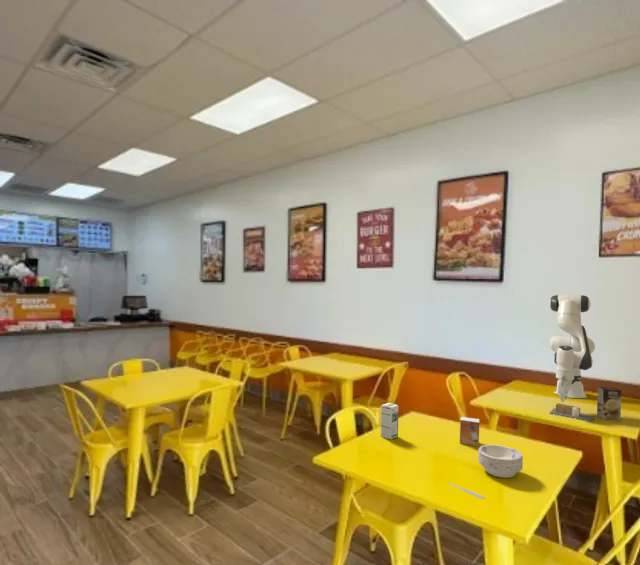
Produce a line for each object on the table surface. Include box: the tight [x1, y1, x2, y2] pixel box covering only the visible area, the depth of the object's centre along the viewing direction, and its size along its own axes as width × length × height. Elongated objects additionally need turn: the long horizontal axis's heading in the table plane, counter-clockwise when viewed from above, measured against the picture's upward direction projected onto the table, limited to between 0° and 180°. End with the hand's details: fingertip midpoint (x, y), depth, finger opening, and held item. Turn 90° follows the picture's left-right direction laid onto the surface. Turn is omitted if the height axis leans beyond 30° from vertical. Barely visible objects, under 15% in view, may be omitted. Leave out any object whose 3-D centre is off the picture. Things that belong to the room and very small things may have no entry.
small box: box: [459, 416, 481, 447], centre depth 185 cm, size 8×6×10 cm
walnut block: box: [555, 403, 581, 417], centre depth 234 cm, size 5×4×11 cm
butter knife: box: [448, 483, 486, 500], centre depth 146 cm, size 1×27×3 cm
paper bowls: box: [477, 444, 524, 479], centre depth 156 cm, size 15×15×8 cm
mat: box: [549, 407, 596, 423], centre depth 232 cm, size 12×20×1 cm, turn 51°
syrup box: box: [380, 402, 399, 440], centre depth 190 cm, size 6×6×14 cm
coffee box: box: [596, 386, 622, 421], centre depth 230 cm, size 9×6×16 cm
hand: (564, 399), depth 235 cm, fingers open, 8 cm apart
